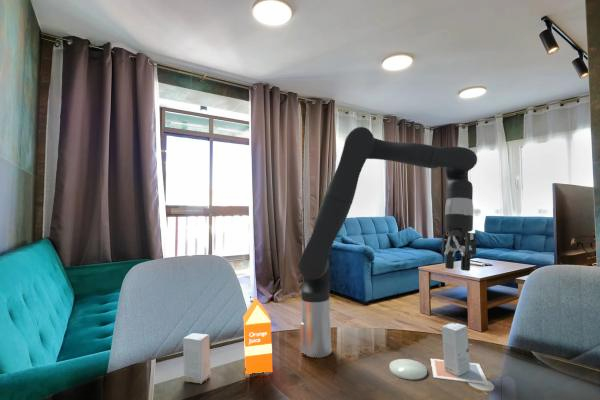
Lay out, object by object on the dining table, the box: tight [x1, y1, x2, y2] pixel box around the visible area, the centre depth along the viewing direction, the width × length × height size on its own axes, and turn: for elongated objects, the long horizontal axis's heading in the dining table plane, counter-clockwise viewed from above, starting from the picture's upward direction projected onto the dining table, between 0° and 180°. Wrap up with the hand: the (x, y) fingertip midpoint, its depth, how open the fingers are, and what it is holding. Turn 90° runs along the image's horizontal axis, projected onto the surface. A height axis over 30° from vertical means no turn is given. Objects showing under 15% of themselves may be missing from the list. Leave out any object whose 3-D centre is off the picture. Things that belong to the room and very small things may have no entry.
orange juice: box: [243, 296, 273, 375], centre depth 92 cm, size 8×9×20 cm
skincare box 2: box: [441, 321, 471, 376], centre depth 87 cm, size 6×4×12 cm
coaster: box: [389, 358, 428, 381], centre depth 88 cm, size 10×10×1 cm
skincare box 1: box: [182, 332, 211, 381], centre depth 87 cm, size 6×4×12 cm
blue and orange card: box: [430, 358, 489, 386], centre depth 86 cm, size 13×11×1 cm
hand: (457, 269), depth 90 cm, fingers open, 8 cm apart
